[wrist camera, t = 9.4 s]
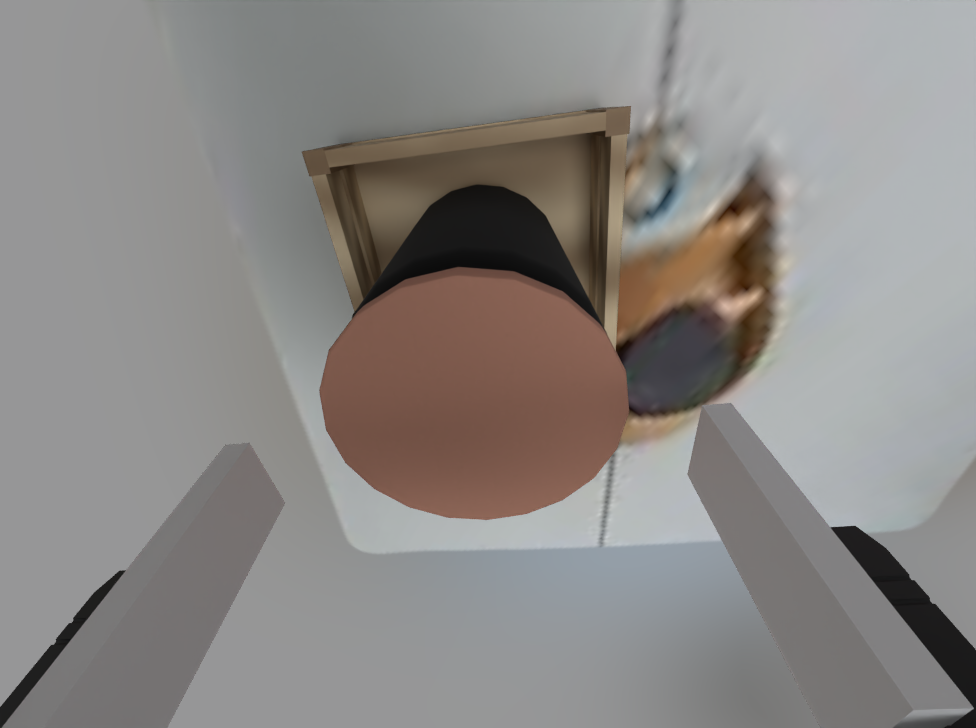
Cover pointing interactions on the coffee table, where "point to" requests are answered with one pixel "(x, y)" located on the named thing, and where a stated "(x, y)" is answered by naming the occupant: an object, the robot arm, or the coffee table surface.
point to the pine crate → (483, 161)
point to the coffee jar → (476, 367)
